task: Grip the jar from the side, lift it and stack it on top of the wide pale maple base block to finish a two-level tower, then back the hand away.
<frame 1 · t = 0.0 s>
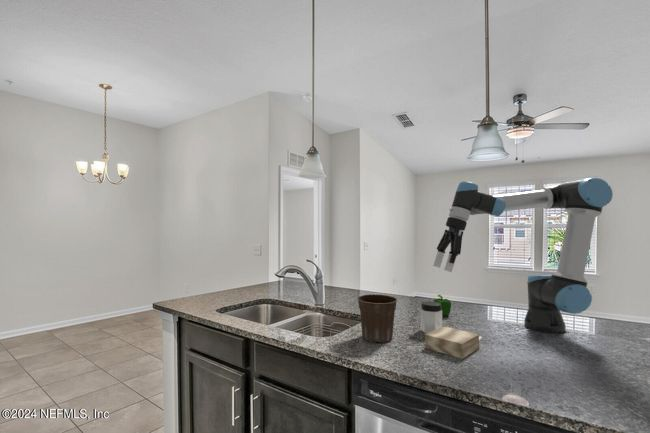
hand: (441, 268, 133), 28 cm above the worktop, tool tilted 20°, fingers open, 13 cm apart
plant pot: (377, 338, 133), on the worktop
bell pepper: (442, 315, 166), on the worktop
instruction card: (463, 337, 132), on the worktop
maple block: (452, 348, 121), on the worktop
jar: (431, 332, 141), on the worktop
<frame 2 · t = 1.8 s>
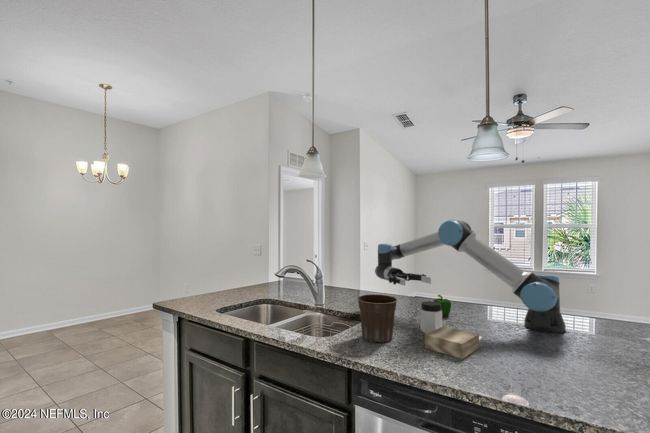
hand: (417, 281, 150), 20 cm above the worktop, tool horizontal, fingers open, 13 cm apart
nothing on the worktop moved.
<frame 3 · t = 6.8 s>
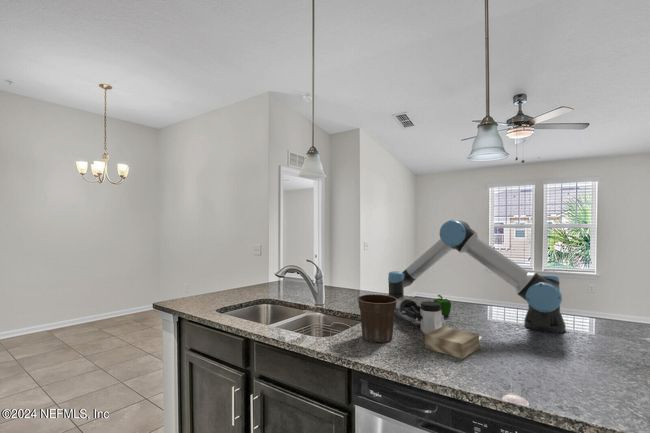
hand: (437, 319, 137), 6 cm above the worktop, tool horizontal, fingers open, 5 cm apart
jar: (431, 331, 140), on the worktop, touching gripper
everything else where it was.
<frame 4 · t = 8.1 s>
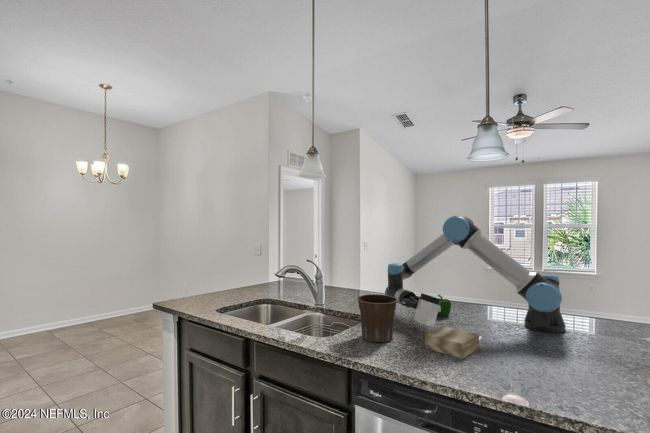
hand: (436, 309, 137), 10 cm above the worktop, tool horizontal, fingers closed on jar, 3 cm apart
jar: (423, 324, 139), point 4 cm above the worktop, touching gripper
everything else where it was.
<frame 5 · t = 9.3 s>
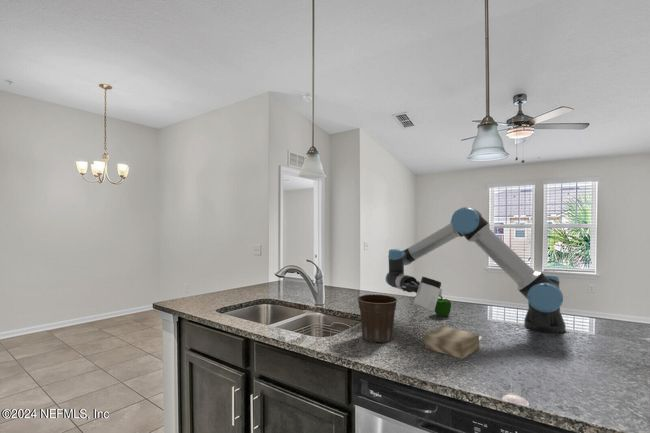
hand: (437, 292, 135), 18 cm above the worktop, tool horizontal, fingers closed on jar, 3 cm apart
jar: (423, 307, 137), point 11 cm above the worktop, touching gripper
everything else where it was.
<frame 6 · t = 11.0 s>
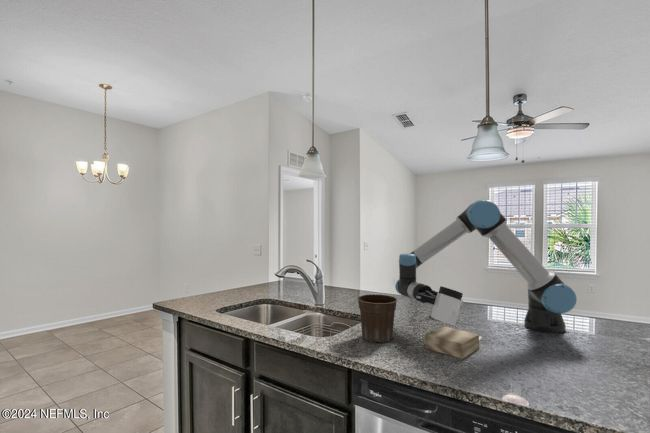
hand: (458, 304, 118), 17 cm above the worktop, tool horizontal
jar: (442, 321, 120), point 10 cm above the worktop, touching gripper
everything else where it was.
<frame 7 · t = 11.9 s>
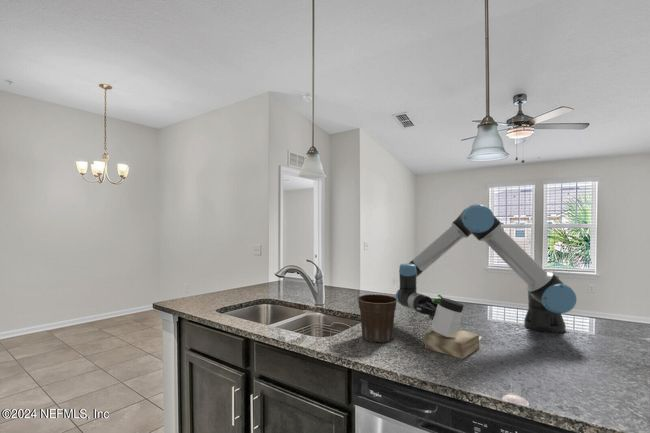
hand: (458, 317, 118), 12 cm above the worktop, tool horizontal, fingers open, 3 cm apart
jar: (442, 333, 120), point 6 cm above the worktop, touching maple block
everything else where it was.
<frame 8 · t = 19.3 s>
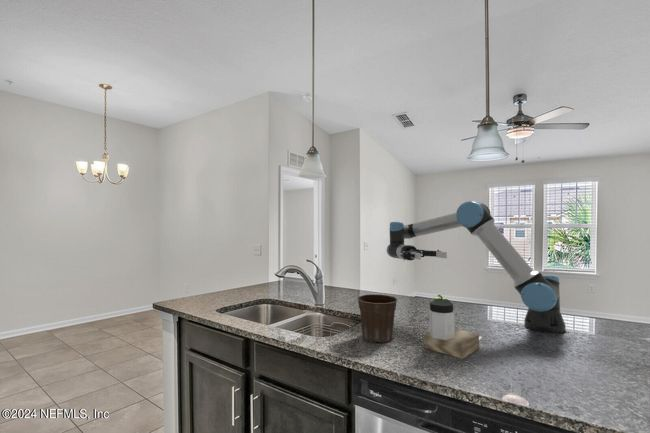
hand: (433, 255, 145), 32 cm above the worktop, tool horizontal, fingers open, 13 cm apart
jar: (441, 336, 120), point 5 cm above the worktop, touching maple block
everything else where it was.
at the end: jar inside the target area on the maple block (4.8 cm from its centre), point 4.8 cm above the maple block's base; jar tilted 0°; the gripper is holding nothing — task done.
